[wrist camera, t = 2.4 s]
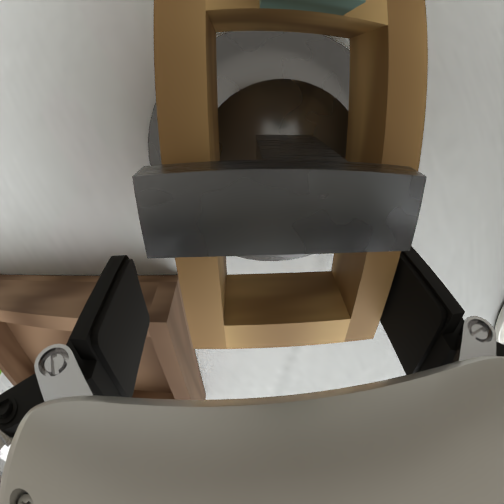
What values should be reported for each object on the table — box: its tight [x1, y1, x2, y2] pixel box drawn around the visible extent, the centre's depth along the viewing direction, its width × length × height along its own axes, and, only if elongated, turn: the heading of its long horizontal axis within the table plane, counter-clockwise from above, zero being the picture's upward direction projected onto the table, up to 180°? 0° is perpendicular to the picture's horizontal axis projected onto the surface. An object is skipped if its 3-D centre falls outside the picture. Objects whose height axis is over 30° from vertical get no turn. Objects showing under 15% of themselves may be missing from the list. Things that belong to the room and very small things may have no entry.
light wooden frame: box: [154, 0, 428, 349], centre depth 8 cm, size 7×12×4 cm, turn 0°
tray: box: [0, 274, 206, 400], centre depth 17 cm, size 17×12×4 cm
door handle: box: [132, 31, 426, 261], centre depth 9 cm, size 11×11×7 cm
